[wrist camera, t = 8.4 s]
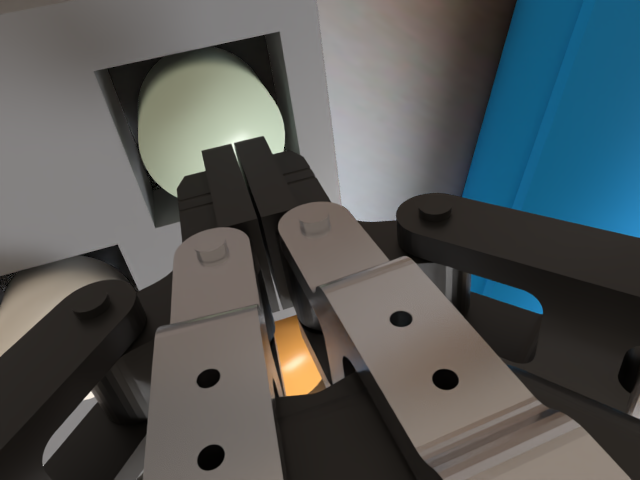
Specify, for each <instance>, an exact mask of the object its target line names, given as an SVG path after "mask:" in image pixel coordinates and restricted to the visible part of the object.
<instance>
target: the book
mask: <svg viewBox="0 0 640 480" xmlns="http://www.w3.org/2000/svg"><path fill="white" fill-rule="evenodd" d="M462 197H463V198H467V199H472V200H476V201H480V202H485V203H489V204H494V205H498V206H502V207H507V208H511V209H516V210H520V211H524V212H529V213H533V214H537V215H542V216H546V217H551V218H555V219H559V220H564V221H568V222H572V223H577V224H581V225H586V226H590V227H594V228H599V229H603V230H608V231H612V232H616V233H621V234H625V235H629V236H634V237H638V238H640V0H517V2H516V6H515V9H514V13H513V16H512V20H511V23H510V27H509V30H508V34H507V38H506V41H505V45H504V48H503V52H502V55H501V59H500V63H499V66H498V70H497V73H496V77H495V80H494V84H493V87H492V91H491V95H490V98H489V102H488V105H487V109H486V112H485V116H484V119H483V123H482V127H481V130H480V134H479V137H478V141H477V144H476V148H475V151H474V155H473V159H472V162H471V166H470V169H469V173H468V176H467V180H466V184H465V187H464V191H463V194H462ZM470 291H471V292H474V293H478V294H481V295H484V296H487V297H490V298H493V299H496V300H499V301H502V302H505V303H508V304H511V305H514V306H517V307H520V308H523V309H526V310H529V311H532V312H535V313H539V314H543V309H542V306H541V304H540V302H539V301H538V300H537V299H536V298H535V297H534V296H533V295H532V294H530V293H528V292H526V291H524V290H521V289H518V288H515V287H511V286H508V285H505V284H502V283H499V282H495V281H492V280H489V279H486V278H482V277H479V276H476V275H473V274H471V289H470Z"/></svg>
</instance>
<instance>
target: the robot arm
mask: <svg viewBox="0 0 640 480" xmlns="http://www.w3.org/2000/svg"><path fill="white" fill-rule="evenodd" d="M234 147H235V151H236V155H237V158H236V155H235V153H234V150H233V147H232V144H227V145H223V146H219V147H215V148H210V149H206V150H202V151H201V152H202V157H203V161H204V166H205V170H206V171H203V172H199V173H195V174H191V175H187V176H184V178H183V179H182V181H181V182H180V184H179V186H178V187H177V198H178V207H179V217H180V226H181V235H182V244H181V245H180V246H179V247H178V248H177V250H176V252H175V254H174V260H173V271H172V272H170V273H169V274H168V275H167V276H165V277H164V278H162V279H161V280H159V281H157V282H156V283H154V284H152V285H150V286H148V287H146V288H144V289H142V290H140V291H138V292H136V291H135V289H134V287H133V286H132V285H131V284H129V283H128V282H126V281H122V280H116V279H110V280H102V281H98V282H94V283H91V284H88V285H86V286H83V287H81V288H79V289H77V290H76V291H74V292H72V293H71V294H69V295H68V296H67V297H65V298H64V299H63V300H62V301H61V302H60V303H59V304H57V305H56V306H55V307H54V308H53V309H52V310H51V311H50V312H49V313H48V314H47V315H45V316H44V317H43V318H42V319H41V320H40V321H39V322H38V323H37V324H36V325H34V326H33V327H32V328H31V329H30V330H29V331H28V332H27V333H26V334H25V335H24V336H22V337H21V338H20V339H19V340H18V341H17V342H16V343H15V344H14V345H13V346H11V347H10V348H9V349H8V350H7V351H6V352H5V353H4V354H3V355H2V356H1V357H0V480H136V479H137V480H640V238H638V237H634V236H629V235H625V234H621V233H616V232H612V231H608V230H603V229H599V228H594V227H590V226H586V225H581V224H577V223H572V222H568V221H564V220H559V219H555V218H551V217H546V216H542V215H537V214H533V213H529V212H524V211H520V210H516V209H511V208H507V207H502V206H498V205H494V204H489V203H485V202H480V201H476V200H472V199H467V198H463V197H459V196H454V195H449V194H442V193H430V194H423V195H419V196H415V197H413V198H410V199H408V200H407V201H405V202H404V203H402V204H401V205H400V207H399V208H398V210H397V213H396V221H383V222H362V221H357V220H356V219H355V218H354V217H353V215H352V214H351V213H350V212H349V211H348V210H347V209H346V208H345V207H343V206H341V205H339V204H336V203H332V202H331V201H330V199H329V197H328V196H327V194H326V192H325V191H324V189H323V188H322V186H321V184H320V183H319V181H318V179H317V178H316V177H315V174H314V173H313V171H312V169H310V166H309V165H308V163H307V161H306V160H305V158H304V157H303V156H301V155H299V154H297V153H295V152H293V151H291V150H288V151H284V152H280V153H276V154H273V153H272V151H271V149H270V147H269V145H268V143H267V141H266V139H265V137H264V136H260V137H256V138H252V139H248V140H243V141H239V142H235V143H234ZM237 159H238V161H237ZM238 163H239V164H238ZM471 274H473V275H476V276H479V277H482V278H486V279H489V280H492V281H495V282H499V283H502V284H505V285H508V286H511V287H515V288H518V289H521V290H524V291H526V292H528V293H530V294H532V295H533V296H534V297H535V298H536V299H537V300H538V301H539V302H540V304H541V306H542V309H543V314H539V313H535V312H532V311H529V310H526V309H523V308H520V307H517V306H514V305H511V304H508V303H505V302H502V301H499V300H496V299H493V298H490V297H487V296H484V295H481V294H478V293H474V292H471V291H470V289H471ZM271 275H272V276H271ZM272 278H273V280H272ZM273 281H274V284H275V287H276V290H277V293H278V296H279V299H280V302H281V305H282V308H283V310H284V309H287V308H291V307H294V309H295V311H296V314H297V318H298V323H299V327H300V332H301V335H302V338H303V340H304V342H305V344H306V346H307V348H308V350H309V352H310V355H311V357H312V359H313V361H314V363H315V365H316V367H317V369H318V371H319V374H320V376H321V378H322V380H323V382H324V384H325V386H326V389H324V390H322V391H320V392H317V393H313V394H304V395H294V396H286V391H285V386H284V380H283V375H282V370H281V364H280V359H279V353H278V348H277V343H276V339H275V336H274V333H275V322H274V318H273V314H272V313H274V312H278V311H280V309H279V305H278V300H277V296H276V292H275V288H274V284H273ZM90 392H92V393H93V395H94V397H95V398H96V400H97V401H98V402H97V403H96V404H95V405H94V406H93V408H92V409H91V410H90V411H89V412H88V414H87V415H86V416H85V417H84V418H83V419H82V421H81V422H80V423H79V424H78V425H77V427H76V428H75V429H74V430H73V431H72V433H71V434H70V435H69V436H68V437H67V439H66V440H65V441H64V442H63V443H62V444H61V446H60V447H59V448H58V449H57V450H56V452H55V453H54V454H53V455H52V456H51V458H50V459H49V460H48V461H47V462H46V464H45V465H44V466H43V463H42V460H43V453H44V450H45V447H46V445H47V443H48V441H49V440H50V438H51V437H52V436H53V434H54V433H55V432H56V431H57V430H58V428H59V427H60V426H61V425H62V424H63V423H64V422H65V420H66V419H67V418H68V417H69V416H70V415H71V414H72V412H73V411H74V410H75V409H76V408H77V407H78V405H79V404H80V403H81V402H82V401H83V400H84V399H85V397H86V396H87V395H88V394H89V393H90ZM143 469H144V471H143ZM142 471H143V473H142V474H141V475H140V473H141V472H142ZM139 475H140V476H139ZM138 476H139V477H138Z"/></svg>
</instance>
